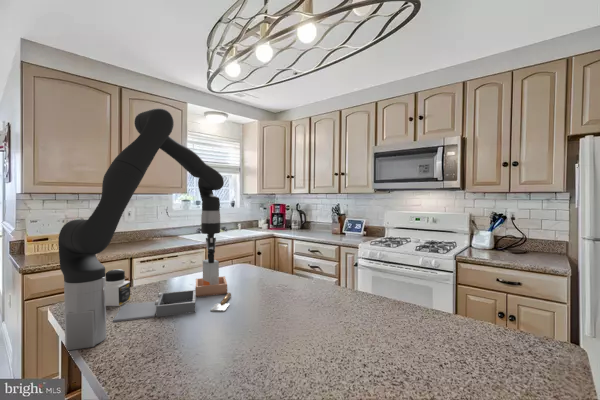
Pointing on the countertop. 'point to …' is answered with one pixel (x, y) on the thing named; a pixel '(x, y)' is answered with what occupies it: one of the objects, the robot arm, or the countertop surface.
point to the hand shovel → (221, 305)
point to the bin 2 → (211, 288)
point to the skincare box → (210, 273)
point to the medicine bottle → (117, 288)
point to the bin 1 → (159, 306)
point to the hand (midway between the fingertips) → (210, 260)
